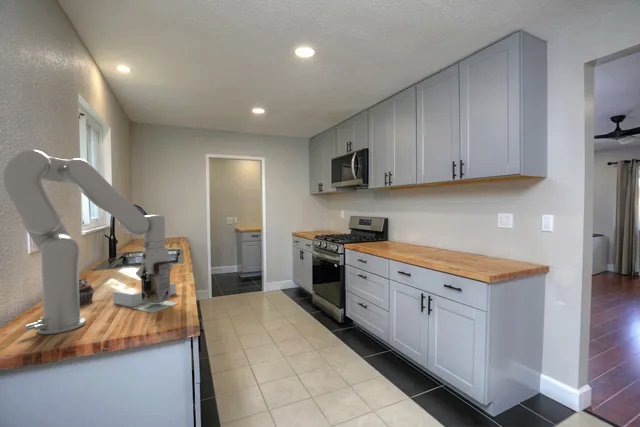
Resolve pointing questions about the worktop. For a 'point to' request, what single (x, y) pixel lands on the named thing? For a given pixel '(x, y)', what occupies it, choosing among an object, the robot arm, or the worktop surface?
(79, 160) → the robot arm
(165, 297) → the coffee box
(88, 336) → the worktop surface
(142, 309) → the pad
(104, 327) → the worktop surface
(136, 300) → the grey l-shaped block
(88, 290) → the cupcake
